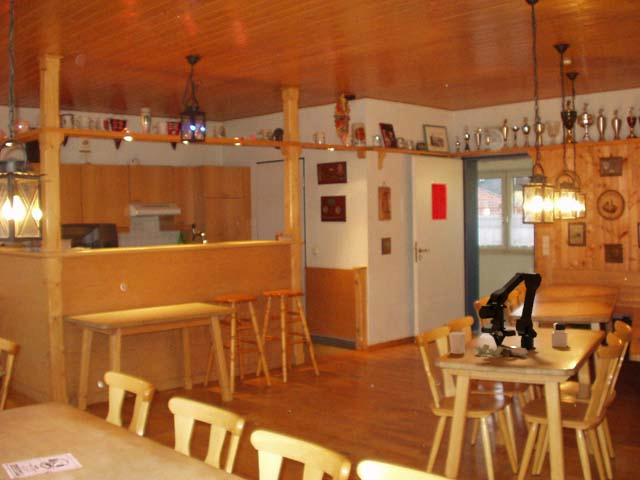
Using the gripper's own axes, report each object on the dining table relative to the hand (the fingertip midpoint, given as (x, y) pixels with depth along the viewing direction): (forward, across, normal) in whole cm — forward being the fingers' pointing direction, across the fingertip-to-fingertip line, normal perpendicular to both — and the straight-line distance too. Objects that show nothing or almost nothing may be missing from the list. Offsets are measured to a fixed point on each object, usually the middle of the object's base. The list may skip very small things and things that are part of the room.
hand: (498, 348), depth 384 cm
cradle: (+2, +1, -8) cm, 9 cm away
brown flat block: (+2, +5, 0) cm, 6 cm away
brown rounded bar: (+2, +9, 0) cm, 9 cm away
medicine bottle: (+2, +8, +37) cm, 38 cm away
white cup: (+3, -14, -15) cm, 20 cm away
